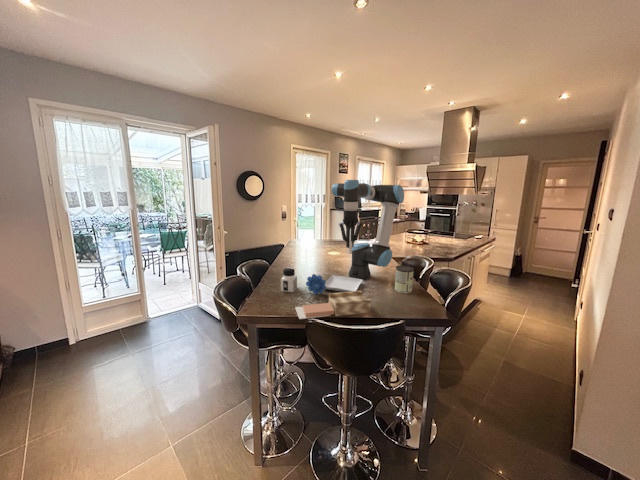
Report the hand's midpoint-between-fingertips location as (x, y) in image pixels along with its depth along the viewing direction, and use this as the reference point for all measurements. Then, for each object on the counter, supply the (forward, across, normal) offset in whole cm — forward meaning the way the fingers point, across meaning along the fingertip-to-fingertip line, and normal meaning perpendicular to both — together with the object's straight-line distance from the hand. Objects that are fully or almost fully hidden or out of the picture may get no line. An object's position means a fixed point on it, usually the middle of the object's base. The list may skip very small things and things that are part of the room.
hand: (349, 253), depth 142 cm
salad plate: (+26, -2, -15) cm, 30 cm away
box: (+25, +6, +14) cm, 29 cm away
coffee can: (+26, -36, -1) cm, 44 cm away
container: (+25, +31, -18) cm, 44 cm away
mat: (+25, +24, +13) cm, 37 cm away
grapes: (+25, +17, -7) cm, 31 cm away
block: (+24, +22, +14) cm, 36 cm away
